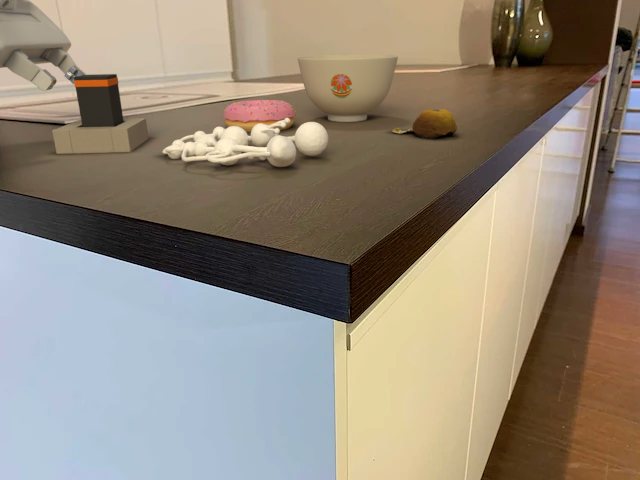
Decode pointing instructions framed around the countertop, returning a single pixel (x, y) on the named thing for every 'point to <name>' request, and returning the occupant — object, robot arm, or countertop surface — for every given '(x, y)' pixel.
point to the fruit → (432, 124)
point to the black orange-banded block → (99, 100)
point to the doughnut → (258, 113)
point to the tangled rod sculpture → (235, 141)
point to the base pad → (100, 137)
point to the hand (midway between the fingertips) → (67, 83)
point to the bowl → (347, 83)
